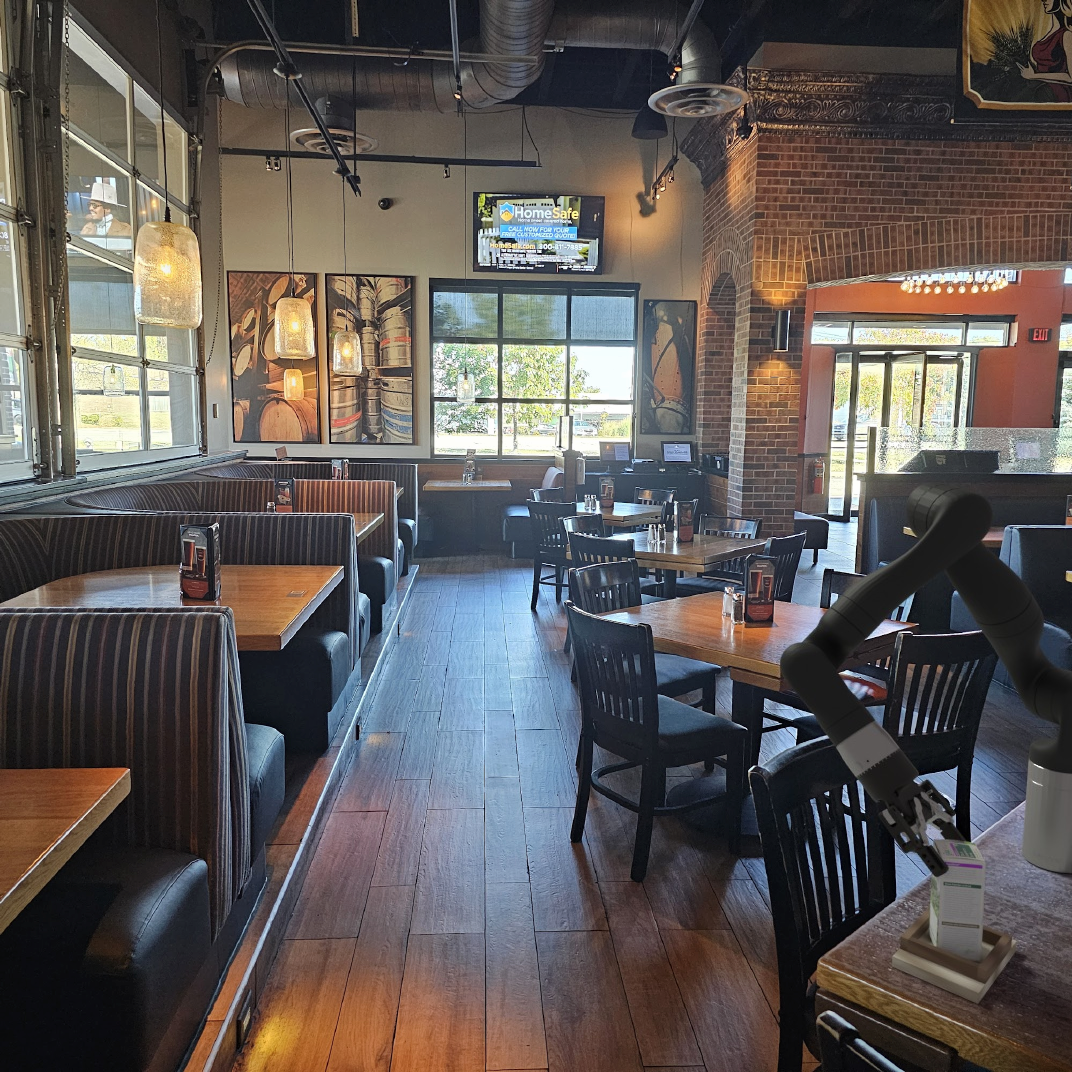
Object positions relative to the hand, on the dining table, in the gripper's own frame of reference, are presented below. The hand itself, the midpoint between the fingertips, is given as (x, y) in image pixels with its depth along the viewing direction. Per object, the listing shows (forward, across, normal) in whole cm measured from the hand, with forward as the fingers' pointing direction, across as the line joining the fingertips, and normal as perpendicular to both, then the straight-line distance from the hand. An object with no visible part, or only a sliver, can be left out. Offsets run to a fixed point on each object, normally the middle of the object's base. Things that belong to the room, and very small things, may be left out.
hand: (954, 862), depth 118 cm
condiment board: (+10, 0, +9) cm, 14 cm away
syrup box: (+9, 0, +8) cm, 12 cm away
